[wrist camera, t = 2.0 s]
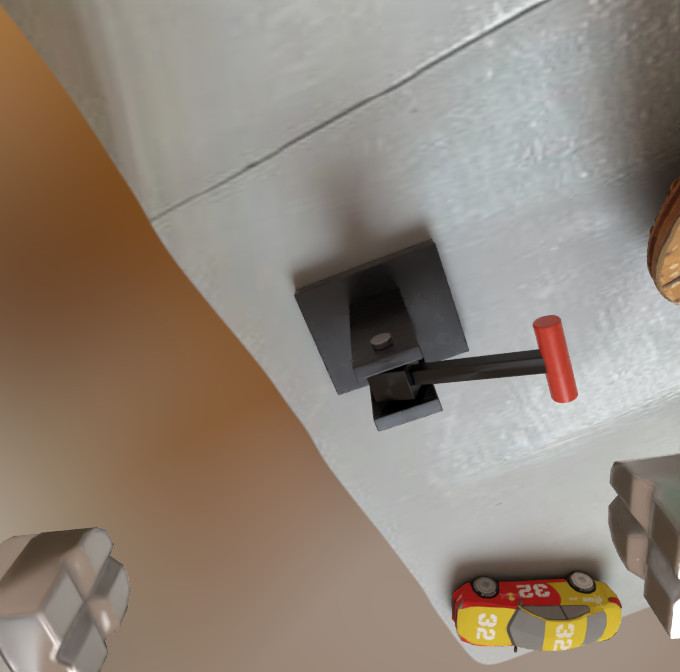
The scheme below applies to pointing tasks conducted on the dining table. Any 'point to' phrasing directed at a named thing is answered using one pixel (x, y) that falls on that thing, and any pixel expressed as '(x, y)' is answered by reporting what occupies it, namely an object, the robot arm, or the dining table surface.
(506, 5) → the dining table surface
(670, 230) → the round wicker shield
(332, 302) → the bracket
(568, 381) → the lever
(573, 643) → the toy car
